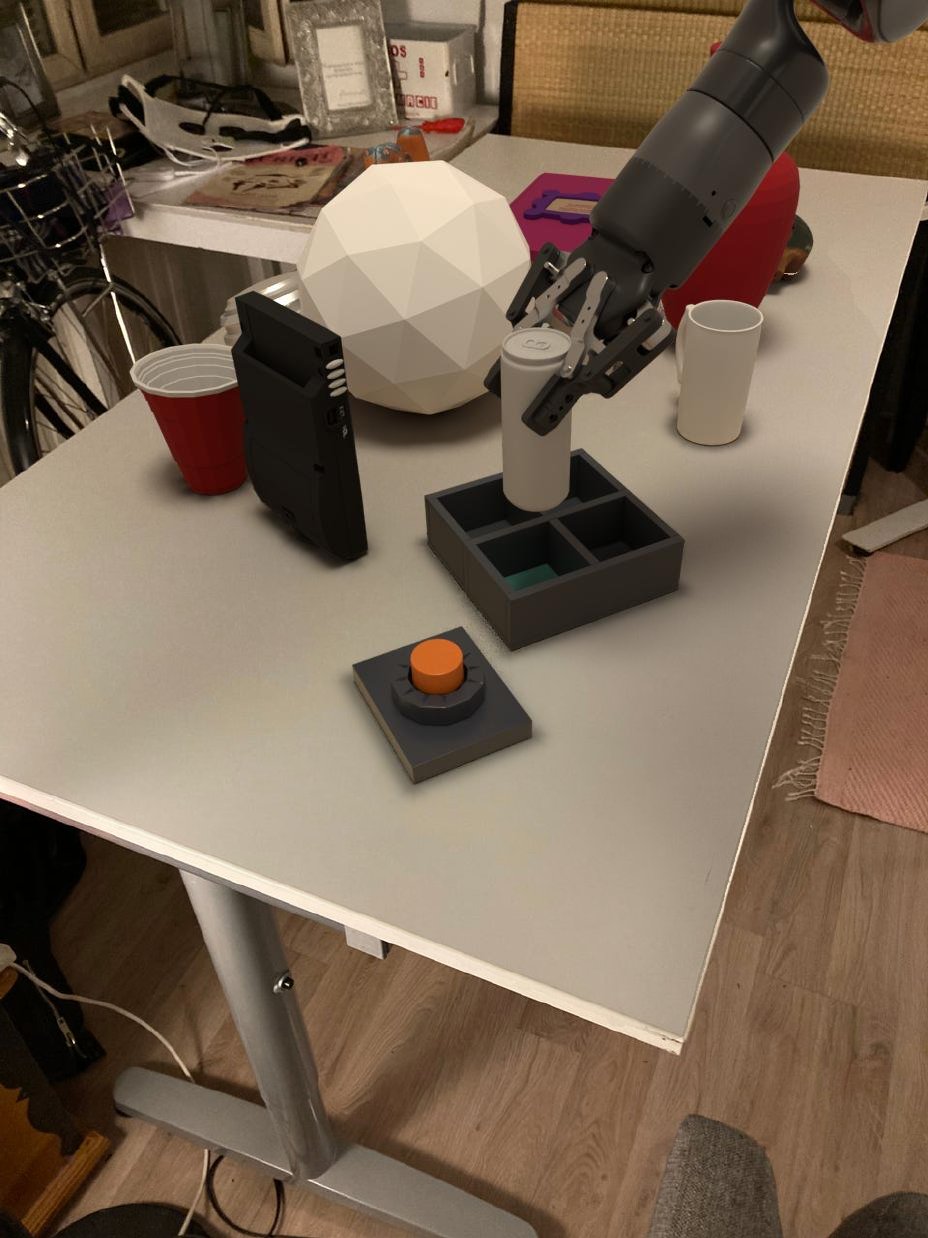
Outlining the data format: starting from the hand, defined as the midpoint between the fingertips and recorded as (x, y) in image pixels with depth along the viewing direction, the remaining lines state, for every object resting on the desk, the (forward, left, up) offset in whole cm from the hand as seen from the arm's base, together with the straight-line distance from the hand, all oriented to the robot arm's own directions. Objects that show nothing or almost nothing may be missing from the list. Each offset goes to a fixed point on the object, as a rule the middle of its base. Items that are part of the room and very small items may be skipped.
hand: (512, 409), depth 66 cm
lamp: (+39, -4, -18) cm, 43 cm away
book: (+58, -40, -18) cm, 73 cm away
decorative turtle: (+43, -60, -18) cm, 76 cm away
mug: (+17, -30, -18) cm, 39 cm away
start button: (-7, +10, -15) cm, 19 cm away
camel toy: (+70, -22, -18) cm, 76 cm away
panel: (-7, +10, -18) cm, 22 cm away
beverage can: (0, -2, -8) cm, 8 cm away
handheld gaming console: (+18, +11, -18) cm, 28 cm away
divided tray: (+4, -5, -18) cm, 19 cm away
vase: (+31, -41, -18) cm, 55 cm away
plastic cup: (+31, +16, -18) cm, 39 cm away
